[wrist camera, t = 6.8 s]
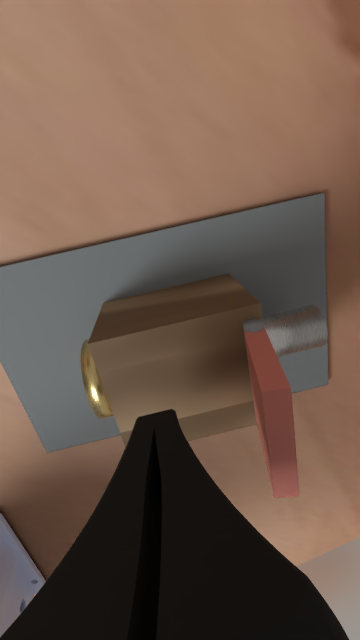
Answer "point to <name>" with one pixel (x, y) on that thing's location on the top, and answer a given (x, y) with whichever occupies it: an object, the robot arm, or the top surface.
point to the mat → (145, 276)
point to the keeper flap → (272, 409)
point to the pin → (282, 328)
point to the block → (178, 356)
